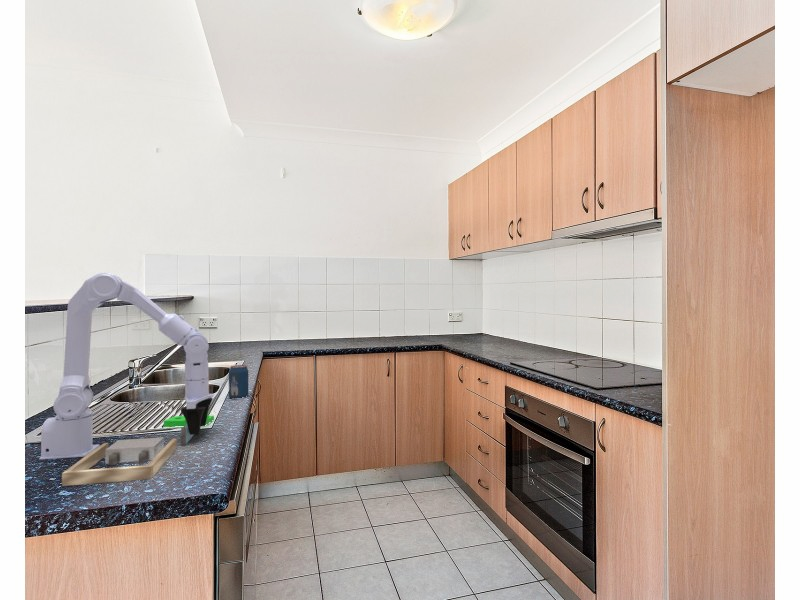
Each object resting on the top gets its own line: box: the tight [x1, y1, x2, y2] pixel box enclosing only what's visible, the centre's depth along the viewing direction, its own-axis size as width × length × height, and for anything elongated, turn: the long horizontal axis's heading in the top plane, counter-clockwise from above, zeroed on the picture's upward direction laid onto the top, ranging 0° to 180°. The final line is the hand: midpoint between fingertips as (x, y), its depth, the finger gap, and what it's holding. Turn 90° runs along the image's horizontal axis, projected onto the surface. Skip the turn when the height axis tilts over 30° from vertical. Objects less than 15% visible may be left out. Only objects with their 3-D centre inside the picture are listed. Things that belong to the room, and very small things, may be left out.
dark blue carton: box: [228, 364, 249, 398], centre depth 166 cm, size 7×7×12 cm
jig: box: [61, 427, 187, 487], centre depth 100 cm, size 18×22×4 cm
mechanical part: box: [163, 409, 215, 428], centre depth 131 cm, size 12×6×8 cm, turn 91°
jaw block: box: [104, 437, 165, 465], centre depth 104 cm, size 10×7×4 cm
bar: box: [184, 424, 195, 445], centre depth 118 cm, size 1×12×4 cm, turn 13°
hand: (197, 429), depth 119 cm, fingers open, 7 cm apart
